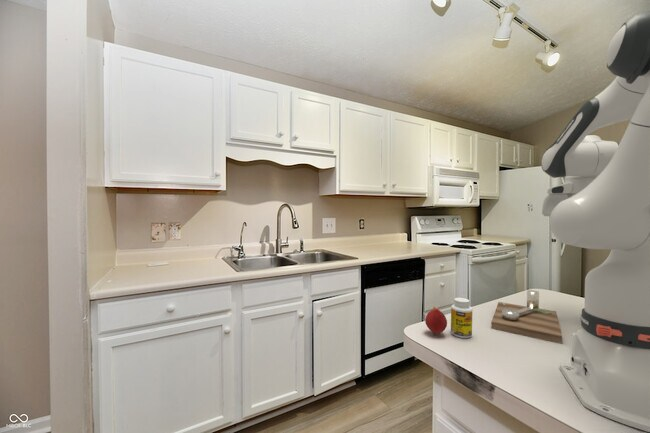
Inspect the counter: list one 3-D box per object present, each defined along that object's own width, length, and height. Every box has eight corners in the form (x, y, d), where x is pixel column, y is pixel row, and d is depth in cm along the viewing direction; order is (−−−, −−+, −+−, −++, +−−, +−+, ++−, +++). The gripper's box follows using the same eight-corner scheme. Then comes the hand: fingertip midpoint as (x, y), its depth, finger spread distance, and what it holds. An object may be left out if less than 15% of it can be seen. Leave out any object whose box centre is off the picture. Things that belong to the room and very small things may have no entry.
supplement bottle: (453, 338, 80) (453, 302, 80) (448, 329, 85) (449, 296, 85) (474, 339, 79) (475, 303, 78) (468, 331, 84) (469, 297, 84)
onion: (443, 330, 85) (443, 303, 85) (449, 339, 79) (450, 310, 79) (423, 329, 85) (423, 303, 85) (428, 338, 80) (428, 310, 79)
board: (561, 343, 76) (561, 335, 76) (491, 328, 86) (491, 321, 86) (555, 317, 95) (556, 310, 95) (498, 307, 105) (498, 301, 105)
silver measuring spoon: (513, 320, 85) (514, 300, 85) (498, 316, 89) (499, 296, 89) (542, 311, 93) (543, 292, 93) (527, 307, 97) (528, 289, 97)
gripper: (629, 187, 86) (627, 232, 87) (544, 190, 101) (543, 229, 101) (630, 185, 82) (628, 233, 82) (541, 189, 96) (540, 230, 96)
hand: (581, 231), depth 92 cm, fingers closed
